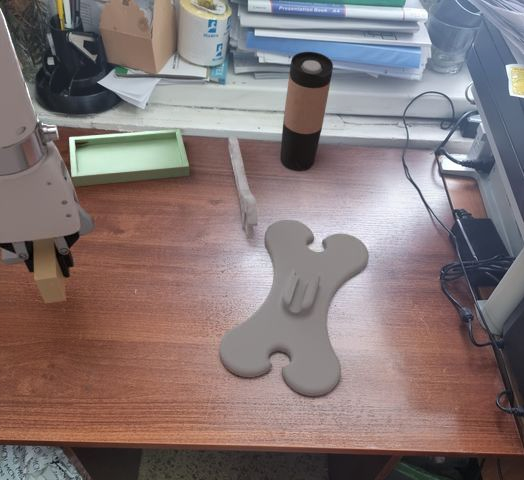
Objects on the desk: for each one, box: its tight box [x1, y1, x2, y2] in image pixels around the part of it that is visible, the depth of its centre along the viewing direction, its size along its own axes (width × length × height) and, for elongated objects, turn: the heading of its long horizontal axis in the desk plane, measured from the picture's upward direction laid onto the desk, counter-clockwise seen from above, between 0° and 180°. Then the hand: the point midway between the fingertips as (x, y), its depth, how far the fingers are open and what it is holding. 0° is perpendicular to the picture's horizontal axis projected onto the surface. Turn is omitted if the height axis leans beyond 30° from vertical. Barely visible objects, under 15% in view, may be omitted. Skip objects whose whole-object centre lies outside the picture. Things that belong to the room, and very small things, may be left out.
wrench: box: [228, 136, 258, 239], centre depth 96 cm, size 8×2×30 cm
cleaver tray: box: [68, 128, 191, 188], centre depth 100 cm, size 22×12×2 cm, turn 103°
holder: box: [218, 219, 370, 397], centre depth 83 cm, size 19×34×5 cm, turn 164°
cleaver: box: [1, 238, 67, 304], centre depth 63 cm, size 17×7×4 cm, turn 14°
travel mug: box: [279, 51, 334, 172], centre depth 97 cm, size 8×8×20 cm
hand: (53, 270), depth 63 cm, fingers closed on cleaver, 2 cm apart
